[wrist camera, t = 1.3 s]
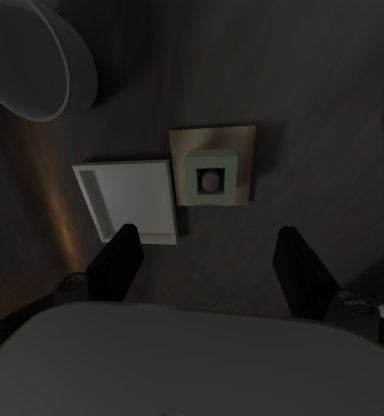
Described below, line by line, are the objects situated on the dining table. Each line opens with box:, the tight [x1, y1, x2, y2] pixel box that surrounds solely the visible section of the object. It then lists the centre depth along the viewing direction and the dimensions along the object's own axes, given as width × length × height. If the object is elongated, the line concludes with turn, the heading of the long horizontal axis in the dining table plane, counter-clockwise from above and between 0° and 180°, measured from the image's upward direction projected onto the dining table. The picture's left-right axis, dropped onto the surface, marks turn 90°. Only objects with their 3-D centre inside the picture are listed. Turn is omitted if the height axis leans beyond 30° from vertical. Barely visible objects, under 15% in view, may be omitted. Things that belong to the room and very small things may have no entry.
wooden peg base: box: [169, 125, 256, 206], centre depth 24 cm, size 12×12×6 cm
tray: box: [72, 160, 179, 245], centre depth 31 cm, size 16×16×2 cm
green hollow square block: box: [184, 149, 238, 204], centre depth 24 cm, size 6×6×5 cm
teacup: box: [0, 0, 98, 122], centre depth 20 cm, size 14×11×8 cm
